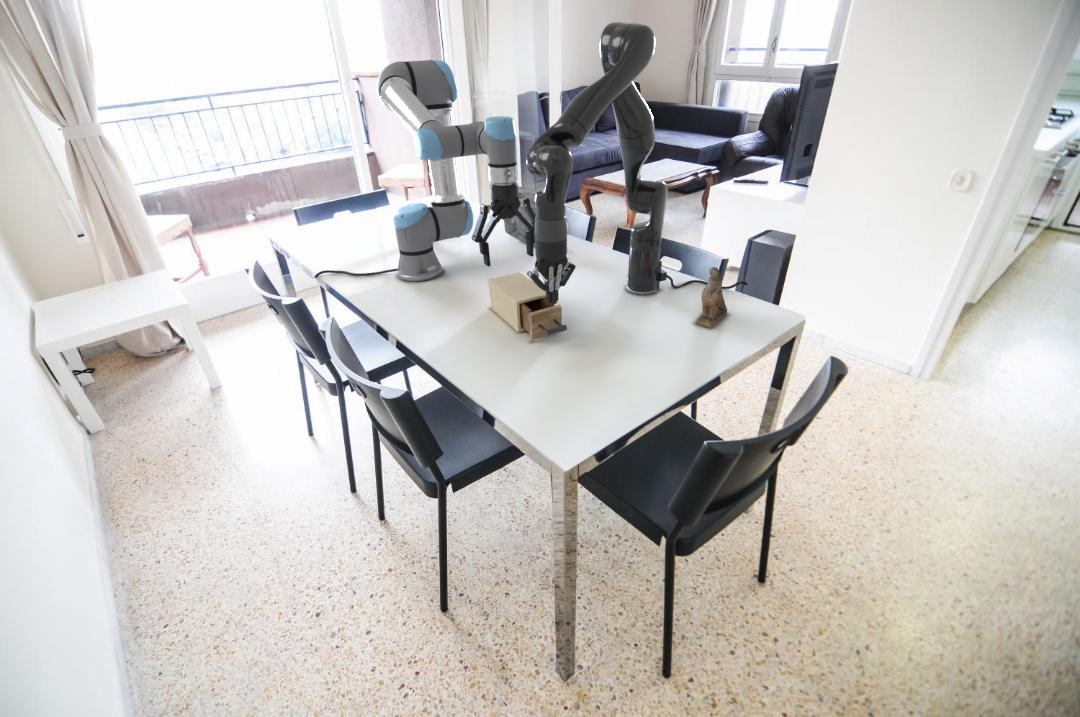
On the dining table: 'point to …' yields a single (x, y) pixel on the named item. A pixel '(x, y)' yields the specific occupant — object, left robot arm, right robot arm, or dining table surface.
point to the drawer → (541, 318)
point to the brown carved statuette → (712, 301)
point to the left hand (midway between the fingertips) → (509, 260)
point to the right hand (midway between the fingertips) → (552, 303)
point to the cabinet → (512, 296)
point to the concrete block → (513, 224)
